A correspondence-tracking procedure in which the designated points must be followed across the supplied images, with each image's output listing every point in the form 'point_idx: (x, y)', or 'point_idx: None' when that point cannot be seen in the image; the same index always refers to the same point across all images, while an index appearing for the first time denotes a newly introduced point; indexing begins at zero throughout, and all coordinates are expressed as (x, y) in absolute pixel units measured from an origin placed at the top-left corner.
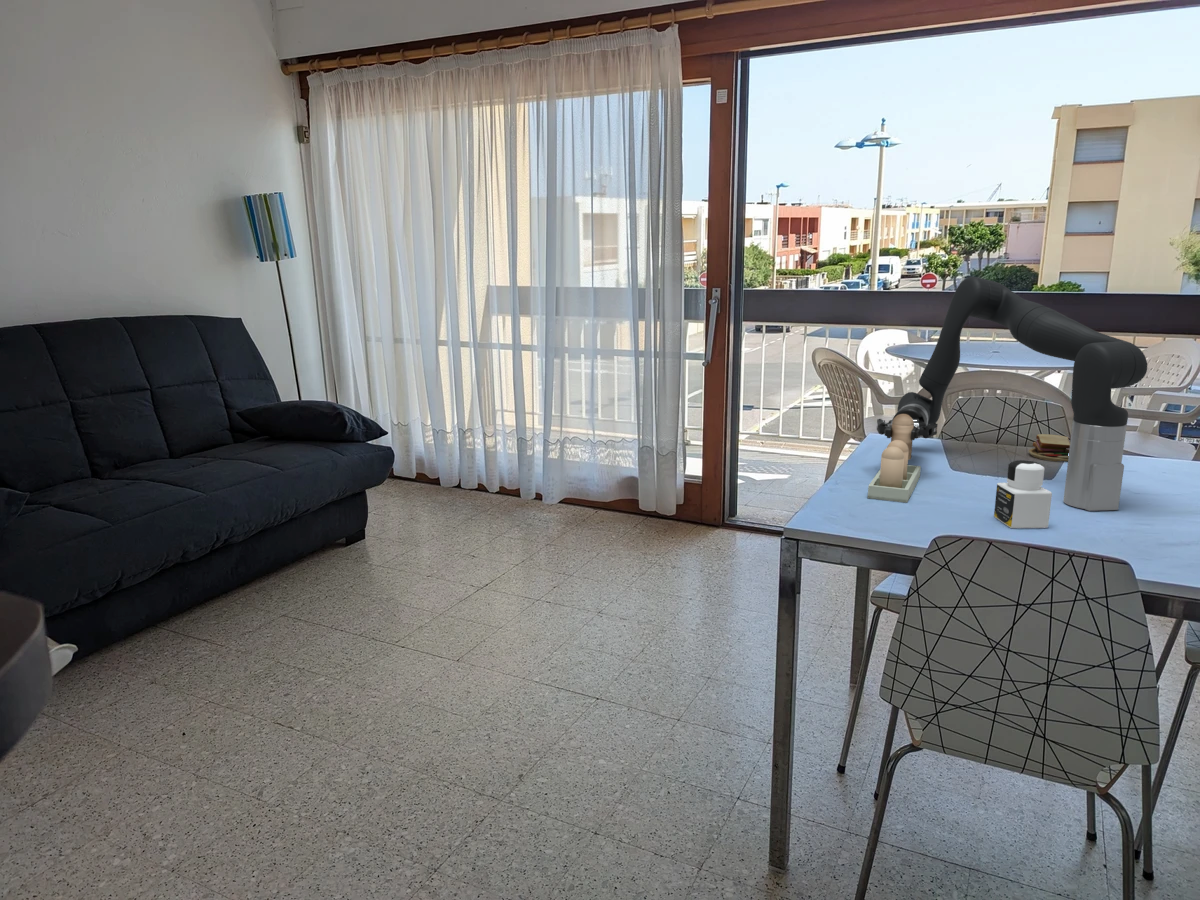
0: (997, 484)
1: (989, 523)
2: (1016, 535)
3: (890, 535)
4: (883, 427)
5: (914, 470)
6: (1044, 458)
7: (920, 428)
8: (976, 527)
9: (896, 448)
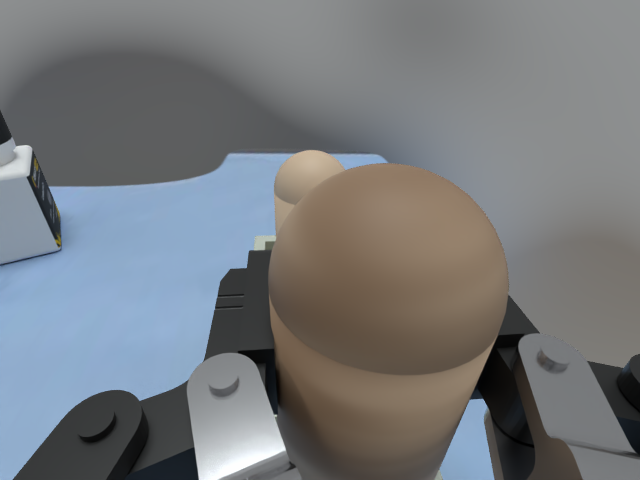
0: (29, 174)
1: (91, 223)
2: (66, 198)
3: (264, 163)
4: (598, 372)
5: None
6: None
7: (191, 389)
8: (127, 205)
9: (300, 152)
